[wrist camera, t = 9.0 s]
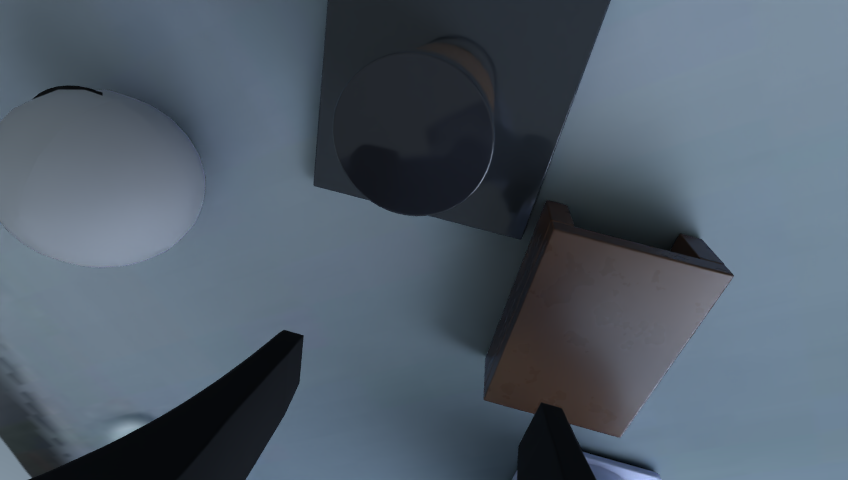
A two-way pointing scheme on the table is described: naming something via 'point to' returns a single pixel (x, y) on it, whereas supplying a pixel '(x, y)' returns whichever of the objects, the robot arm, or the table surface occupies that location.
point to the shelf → (597, 321)
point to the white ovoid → (97, 177)
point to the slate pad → (509, 73)
